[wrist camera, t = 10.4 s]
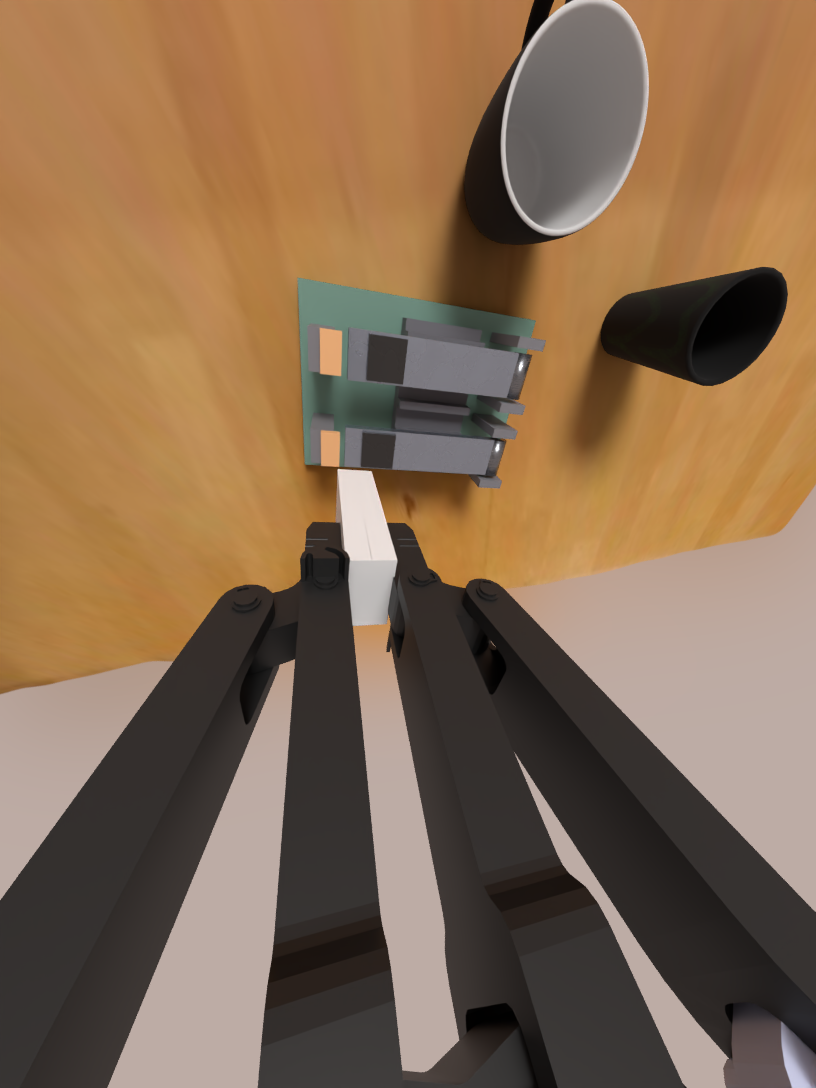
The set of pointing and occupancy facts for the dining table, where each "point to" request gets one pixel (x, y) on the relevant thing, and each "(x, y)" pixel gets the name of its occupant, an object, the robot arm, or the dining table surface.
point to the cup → (699, 325)
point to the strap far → (421, 451)
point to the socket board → (389, 405)
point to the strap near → (434, 364)
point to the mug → (560, 125)
